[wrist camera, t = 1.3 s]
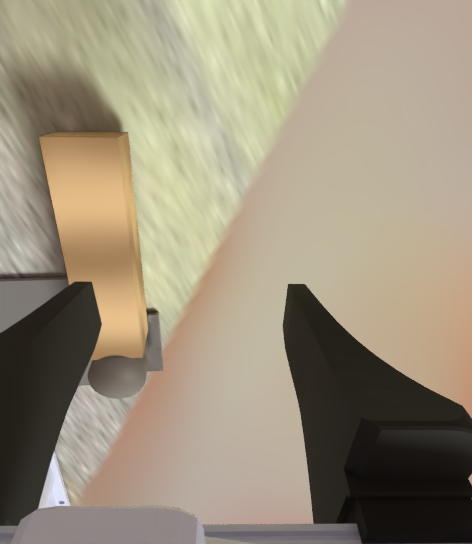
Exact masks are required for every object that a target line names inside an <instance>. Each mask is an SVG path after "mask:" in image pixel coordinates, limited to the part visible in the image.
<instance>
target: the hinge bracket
mask: <svg viewBox="0 0 472 544" xmlns="http://www.w3.org/2000/svg"><path fill="white" fill-rule="evenodd" d="M147 323H148V333H147V338H148V340H149V342H150V345H151V350H150V356H149V362H148V368H147V371H160V370H161V371H162V370H163V358H162V346H161V334H160V322H159V312H148V313H147Z"/></svg>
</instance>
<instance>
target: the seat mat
mask: <svg viewBox="0 0 472 544" xmlns="http://www.w3.org/2000/svg"><path fill="white" fill-rule="evenodd" d="M67 286H69V281H68V277H43V278H6V279H0V333H1V332H3V331H4V330H6V329H7V328H9V327H10V326H12V325H13V324H15V323H16V322H18V321H19V320H21V319H22V318H24V317H26V316H27V315H29V314H30V313H31V312H33V311H34V310H36V309H37V308H38V307H40V306H41V305H43V304H44V303H45V302H47V301H48V300H49V299H51V298H52V297H54V296H55V295H56V294H58V293H59V292H60V291H62V290H63V289H64V288H66V287H67ZM91 363H92V360H90V361H89V363H88V366H87V368H86V370H85V372H84V374H83V376H82V379H81V381H80V383H79V385H78V386H80V385H90V384H89V381H88V371H89V368H90V365H91Z"/></svg>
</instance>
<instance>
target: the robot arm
mask: <svg viewBox="0 0 472 544" xmlns="http://www.w3.org/2000/svg"><path fill="white" fill-rule="evenodd" d="M101 326H102V322H101V318H100V314H99V309H98V305H97V301H96V297H95V293H94V289H93V284H92V282H83V281H75V282H73V283H72V284H70V285H69V286H67V287H66V288H64V289H63V290H62V291H60V292H59V293H58V294H56V295H55V296H54V297H52V298H51V299H49V300H48V301H47V302H45V303H44V304H43V305H41V306H40V307H38V308H37V309H36V310H34V311H33V312H31V313H30V314H29V315H27V316H26V317H24V318H22V319H21V320H19V321H18V322H16V323H15V324H13V325H12V326H10V327H9V328H7V329H6V330H4V331H3V332H1V333H0V544H472V499H471V498H472V485H471V483H470V482H469V480H468V478H469V476H470V475H471V474H472V418H471V417H470V416H469V414H468V413H467V412H466V410H465V409H464V407H463V406H462V405H459V404H458V403H455V402H453V401H452V400H450V399H448V398H446V397H444V396H441V395H440V394H438V393H436V392H434V391H431V390H430V389H428V388H426V387H424V386H423V385H421V384H419V383H417V382H416V381H414V380H412V379H410V378H409V377H407V376H405V375H404V374H402V373H401V372H399V371H397V370H396V369H395V368H393V367H392V366H390V365H389V364H387V363H386V362H384V361H383V360H381V359H380V358H379V357H377V356H376V355H374V354H373V353H372V352H371V351H369V350H368V349H367V348H366V347H365V346H363V345H362V344H361V343H360V342H358V341H357V340H356V339H355V338H354V337H353V336H352V335H351V334H349V333H348V332H347V331H346V330H345V329H344V328H343V327H342V326H341V325H340V324H339V323H338V322H337V321H336V320H335V319H334V318H333V316H332V315H331V314H330V313H329V312H328V311H327V310H326V309H325V308H324V307H323V305H322V304H321V303H320V302H319V301H318V299H317V298H316V297H315V296H314V295H313V294H312V292H311V291H310V290H309V289H308V288H307V286H306V285H305V284H288V289H287V298H286V305H285V313H284V320H283V332H284V341H285V349H286V354H287V358H288V362H289V366H290V371H291V374H292V379H293V383H294V386H295V391H296V395H297V399H298V403H299V408H300V412H301V420H302V427H303V434H304V441H305V450H306V457H307V465H308V473H309V483H310V492H311V500H312V511H313V522H314V524H234V525H233V524H229V525H201V523H200V522H199V520H198V519H197V518H196V516H195V515H193V514H191V513H189V512H187V511H184V510H182V509H180V508H174V507H166V506H70V502H69V498H68V495H67V492H66V488H65V485H64V481H63V478H62V475H61V471H60V468H59V465H58V461H57V458H56V454H55V451H54V450H55V447H56V443H57V440H58V437H59V434H60V431H61V428H62V425H63V422H64V419H65V416H66V413H67V410H68V408H69V405H70V403H71V400H72V398H73V396H74V394H75V392H76V390H77V387H78V385H79V383H80V381H81V379H82V376H83V374H84V372H85V370H86V368H87V366H88V363H89V361H90V359H91V357H92V354H93V352H94V350H95V347H96V344H97V341H98V337H99V334H100V330H101Z"/></svg>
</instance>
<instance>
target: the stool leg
mask: <svg viewBox="0 0 472 544" xmlns="http://www.w3.org/2000/svg"><path fill="white" fill-rule="evenodd" d="M39 140H40V145H41V150H42V155H43V160H44V165H45V169H46V174H47V179H48V184H49V189H50V194H51V199H52V203H53V208H54V213H55V218H56V223H57V228H58V232H59V237H60V242H61V247H62V252H63V257H64V262H65V266H66V271H67V276H68V281H69V285H70V284H72V283H73V282H75V281H83V282H92V284H93V289H94V293H95V297H96V301H97V305H98V309H99V314H100V318H101V322H102V326H101V330H100V334H99V337H98V341H97V344H96V347H95V350H94V352H93V354H92V357H91V359H90V360H92V363H91V365H90V368H89V371H88V381H89V384H90V385H91V387H92V388H93V389H94V390H95V391H96V392H98V393H99V394H101V395H103V396H106V397H109V398H126V397H130V396H132V395H134V394H136V393H137V392H139V391H140V390H141V389H142V387H143V386H144V384H145V380H146V374H147V368H148V362H149V356H150V350H151V345H150V342H149V340H148V338H147V333H148V323H147V313H146V303H145V293H144V284H143V274H142V264H141V254H140V245H139V235H138V225H137V215H136V206H135V196H134V186H133V176H132V167H131V157H130V147H129V137H128V132H69V131H61V132H57V133H52V134H48V135H44V136H40V137H39Z"/></svg>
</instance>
